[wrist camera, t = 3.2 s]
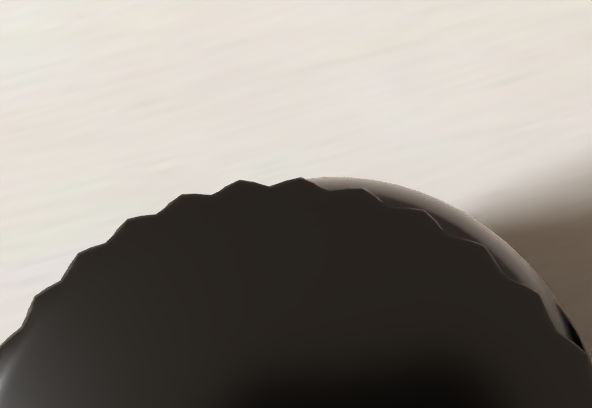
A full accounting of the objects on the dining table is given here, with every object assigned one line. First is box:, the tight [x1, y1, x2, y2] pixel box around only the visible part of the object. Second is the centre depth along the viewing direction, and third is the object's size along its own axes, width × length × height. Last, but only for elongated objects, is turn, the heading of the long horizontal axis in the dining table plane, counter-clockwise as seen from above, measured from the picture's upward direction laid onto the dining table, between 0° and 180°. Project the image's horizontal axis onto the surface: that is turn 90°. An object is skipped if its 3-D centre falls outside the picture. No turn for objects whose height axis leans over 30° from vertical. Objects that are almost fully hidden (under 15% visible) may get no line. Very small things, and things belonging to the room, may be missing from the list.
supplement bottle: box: [0, 177, 592, 408], centre depth 9 cm, size 7×7×12 cm
